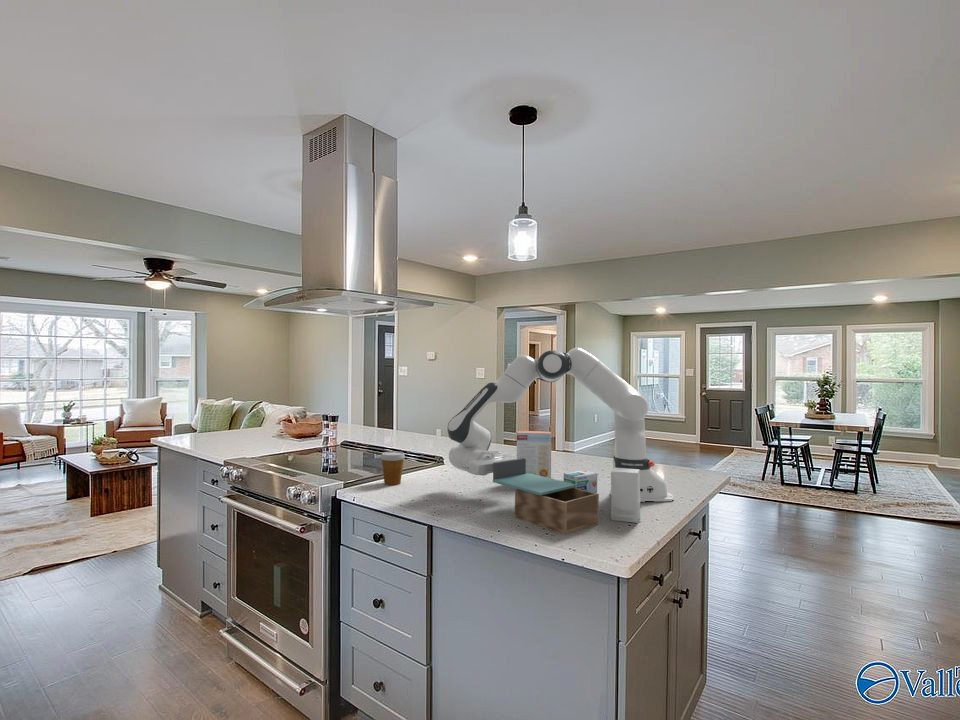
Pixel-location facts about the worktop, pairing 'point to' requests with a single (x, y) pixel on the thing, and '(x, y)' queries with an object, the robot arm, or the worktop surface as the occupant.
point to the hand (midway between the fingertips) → (508, 469)
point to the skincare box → (625, 494)
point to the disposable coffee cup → (392, 467)
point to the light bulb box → (582, 480)
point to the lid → (525, 478)
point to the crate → (558, 509)
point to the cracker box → (535, 451)
